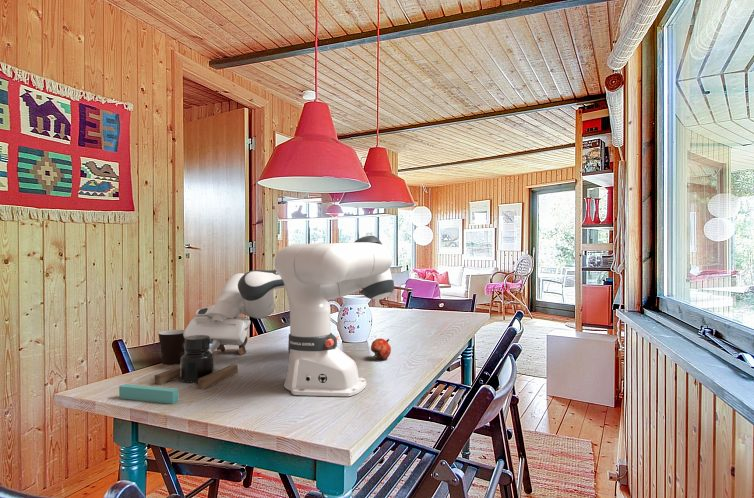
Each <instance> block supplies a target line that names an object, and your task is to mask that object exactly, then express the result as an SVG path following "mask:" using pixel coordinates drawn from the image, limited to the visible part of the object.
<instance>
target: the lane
mask: <svg viewBox="0 0 754 498" xmlns="http://www.w3.org/2000/svg"><path fill="white" fill-rule="evenodd" d="M238 373H239V365H238V364H230V365H227V366H226V367H223V368H221V369H218V370H215V371H214V372H213V373H211V374H209V375H206V376H204V377H202V378H199V379H198V382H197V389H198V390H199V389H200V390H205V389H207V388H210V387H212V386H214V385H215V384H218V383H220V382H223V381H224V380H226V379H228V378H231V377H232V376H235V375H237V374H238ZM178 378H179V379H180V365H179V366H177V367H173V368H170V369H167V370H165V371H162V372H160V373H157V374H155V375H154V385H159V386H161V385H164V384H166V383H169V382H172V381H174V380H175V379H178Z"/></svg>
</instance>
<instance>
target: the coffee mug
mask: <svg viewBox="0 0 754 498" xmlns="http://www.w3.org/2000/svg"><path fill="white" fill-rule="evenodd" d="M184 331H185V329H169V330H162V331H160V332H158V340H159V348H160V350H159V351H160V356H161V363H162V364H161V365H165V366H166V365H167V366H168V365H169V366H174V365H178V364H179V365H180V359H181V356H182V355H184V353H185V352H186V351H185V338H184V336H183V333H184Z"/></svg>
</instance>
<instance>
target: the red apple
mask: <svg viewBox="0 0 754 498" xmlns="http://www.w3.org/2000/svg"><path fill="white" fill-rule="evenodd" d="M389 341H390V339H389V338H387V340H386V339H385V338H376V339H375V340H372V343H371V346H370V351H371V352H372V353H374V355H373V356H372V357H371V358H370V359H369V361H372V360H373V359H374V358H375V357H376V358H377V359H381V360H386V359H387V358H389V357H390V356H391V353H392V347H391V345H390V344H389Z"/></svg>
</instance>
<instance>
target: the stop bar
mask: <svg viewBox="0 0 754 498" xmlns="http://www.w3.org/2000/svg"><path fill="white" fill-rule="evenodd" d="M118 391H119V393H118V398H119V399H122V400H123V399H126V400H133V401H142V402H153V403H161V404H168V405H169V404H170V405H173V404H176V403H178V402H179V388H169V387H162V386H161V387H160V386H151V385H141V384H140V385H139V384H132V383H124V384H122V385H119V386H118Z"/></svg>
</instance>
